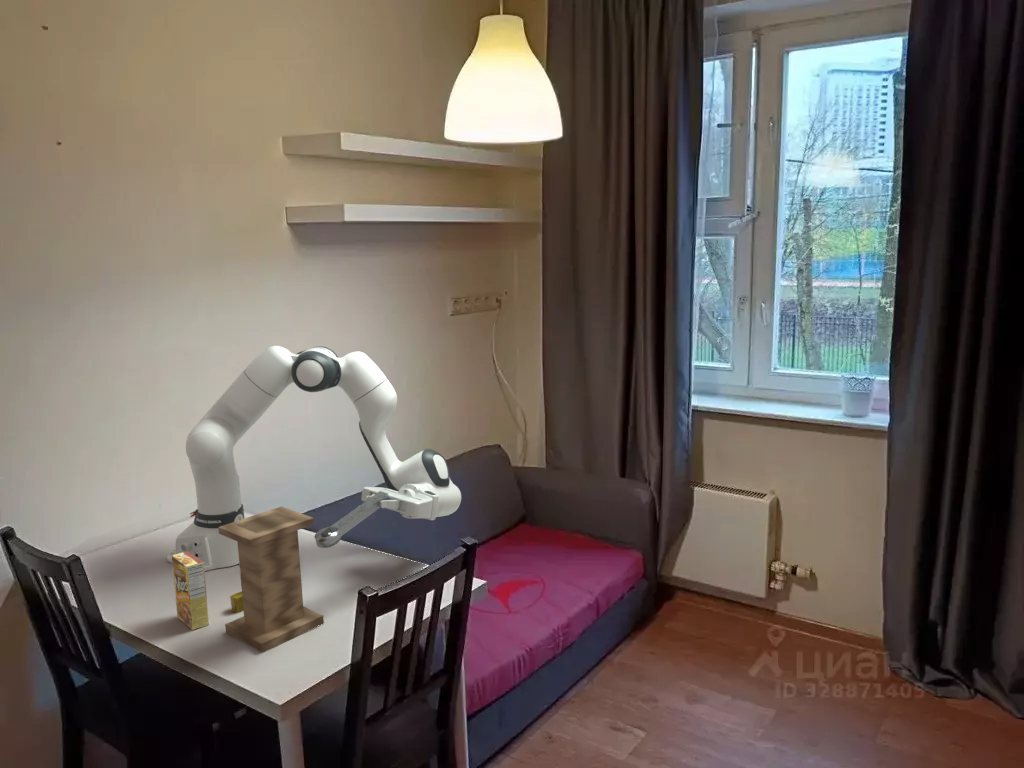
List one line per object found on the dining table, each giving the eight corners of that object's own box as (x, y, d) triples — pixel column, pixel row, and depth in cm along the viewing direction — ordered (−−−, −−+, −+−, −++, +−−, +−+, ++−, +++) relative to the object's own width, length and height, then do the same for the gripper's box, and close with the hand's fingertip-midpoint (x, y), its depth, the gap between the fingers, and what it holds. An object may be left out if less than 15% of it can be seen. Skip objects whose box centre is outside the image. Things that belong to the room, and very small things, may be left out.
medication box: (274, 592, 205) (273, 577, 204) (281, 596, 203) (280, 580, 202) (230, 610, 196) (229, 594, 195) (237, 614, 194) (235, 598, 194)
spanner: (377, 496, 209) (376, 489, 208) (393, 501, 206) (391, 494, 205) (311, 544, 194) (309, 537, 193) (327, 550, 191) (325, 542, 190)
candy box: (176, 617, 193) (169, 555, 190) (194, 611, 196) (188, 550, 193) (192, 631, 186) (185, 566, 183) (210, 624, 189) (204, 561, 186)
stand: (286, 606, 197) (278, 505, 192) (323, 623, 189) (316, 518, 184) (226, 632, 185) (215, 526, 180) (262, 652, 177) (252, 541, 172)
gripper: (386, 480, 222) (347, 481, 211) (443, 496, 209) (404, 497, 198) (383, 504, 222) (343, 505, 211) (439, 521, 209) (400, 524, 198)
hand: (373, 502), depth 204 cm, fingers closed on spanner, 3 cm apart
